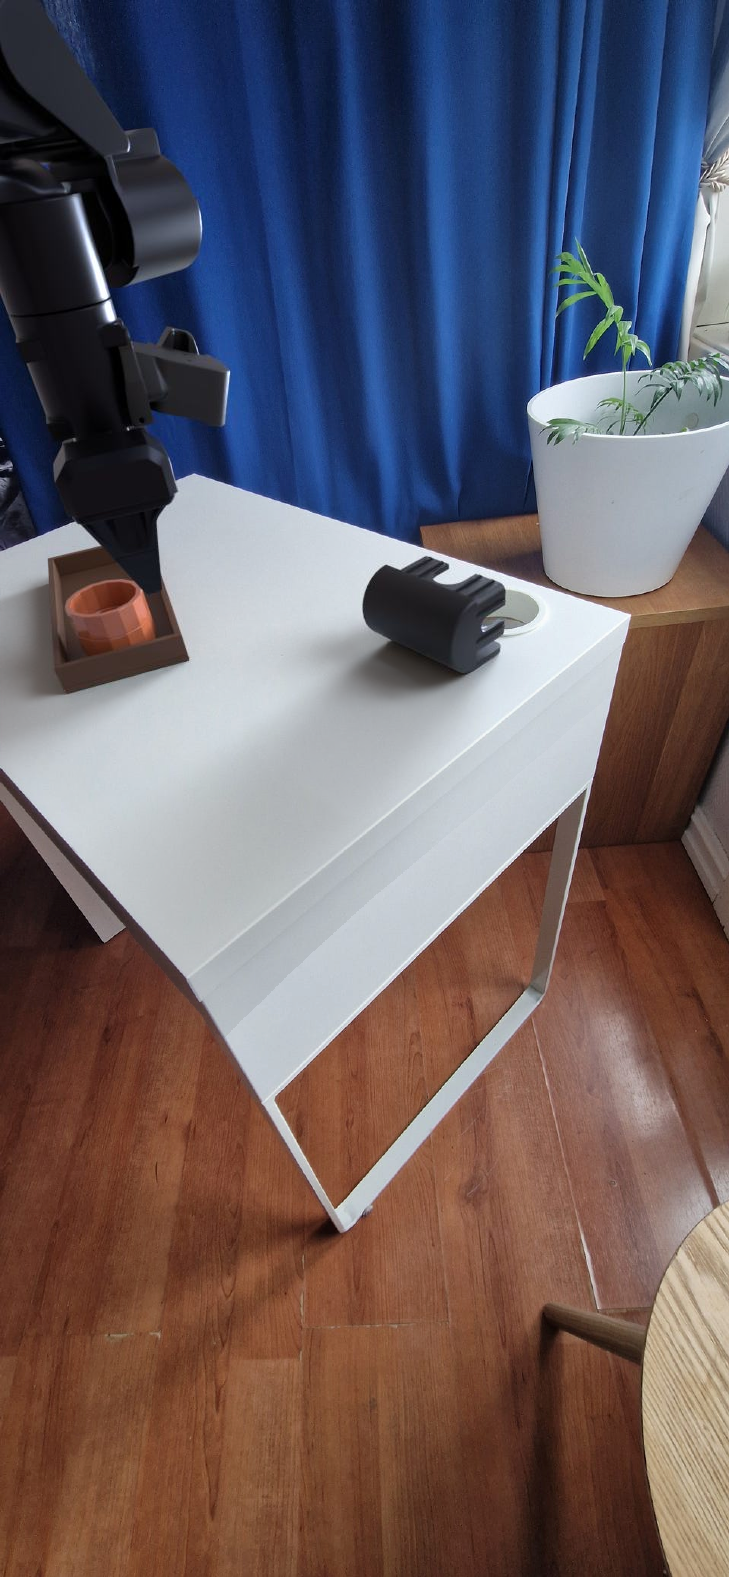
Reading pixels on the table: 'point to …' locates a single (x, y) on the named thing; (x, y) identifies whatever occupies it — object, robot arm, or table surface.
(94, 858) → the table surface
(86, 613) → the terracotta flower pot
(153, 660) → the tray
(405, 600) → the end cap
